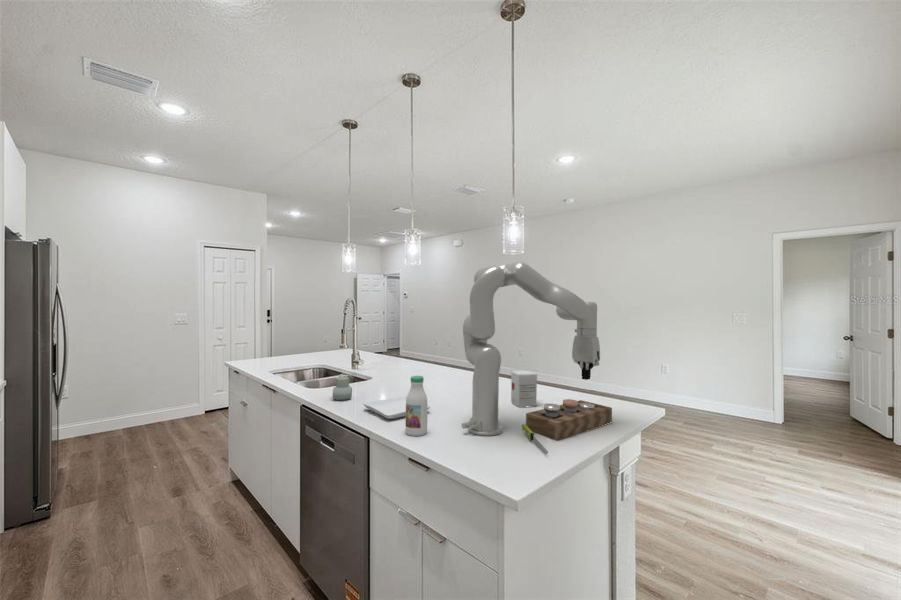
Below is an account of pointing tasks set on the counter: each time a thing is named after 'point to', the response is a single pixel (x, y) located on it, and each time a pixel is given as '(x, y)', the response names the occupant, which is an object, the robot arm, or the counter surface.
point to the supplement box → (523, 388)
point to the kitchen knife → (533, 438)
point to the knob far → (587, 405)
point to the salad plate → (389, 407)
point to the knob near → (552, 410)
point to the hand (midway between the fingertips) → (585, 378)
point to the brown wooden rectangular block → (568, 421)
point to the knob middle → (570, 406)
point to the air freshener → (342, 389)
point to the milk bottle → (416, 408)
